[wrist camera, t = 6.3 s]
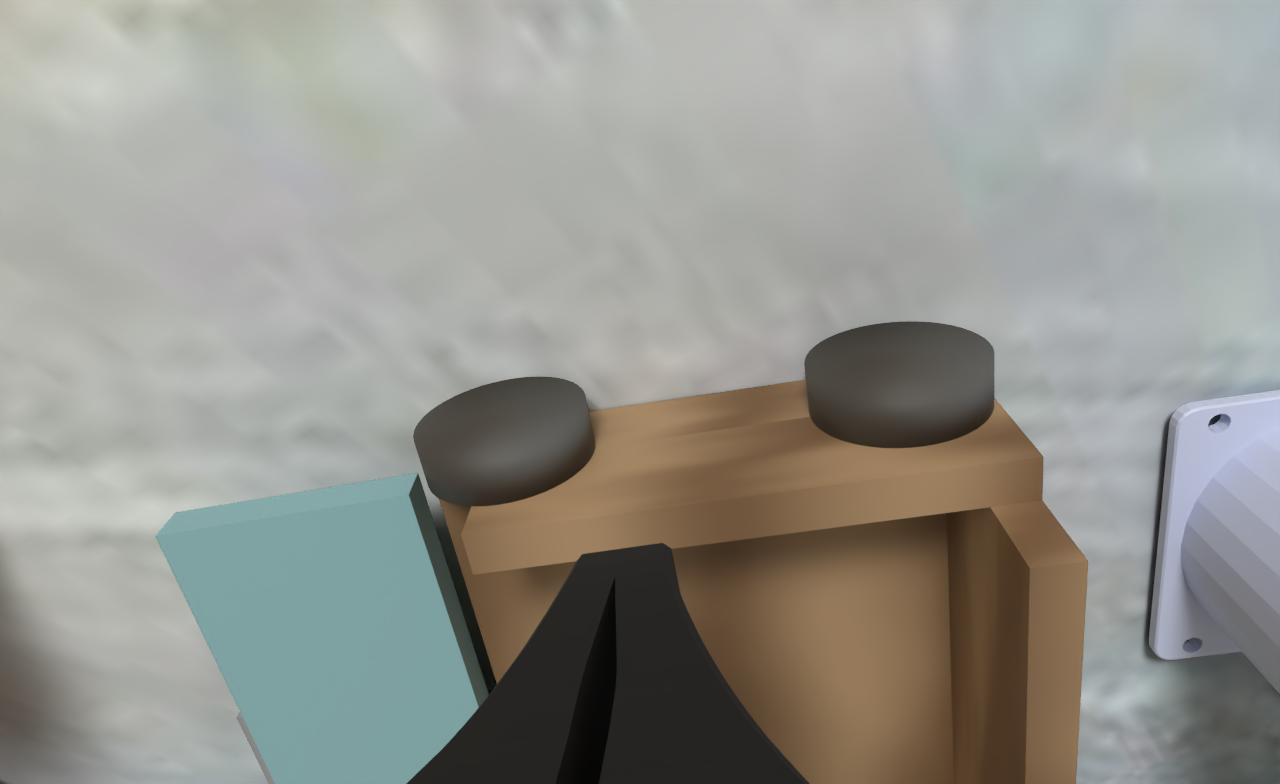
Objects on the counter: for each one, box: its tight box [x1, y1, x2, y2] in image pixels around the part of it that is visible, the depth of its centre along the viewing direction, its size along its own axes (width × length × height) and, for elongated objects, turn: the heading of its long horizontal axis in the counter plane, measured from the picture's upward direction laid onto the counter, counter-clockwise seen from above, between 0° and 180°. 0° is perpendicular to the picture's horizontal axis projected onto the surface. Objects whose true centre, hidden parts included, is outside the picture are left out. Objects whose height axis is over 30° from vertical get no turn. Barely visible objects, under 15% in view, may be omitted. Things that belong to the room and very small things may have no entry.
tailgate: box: [156, 473, 489, 784], centre depth 24 cm, size 2×18×7 cm
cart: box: [413, 322, 1088, 784], centre depth 22 cm, size 13×20×7 cm, turn 10°
